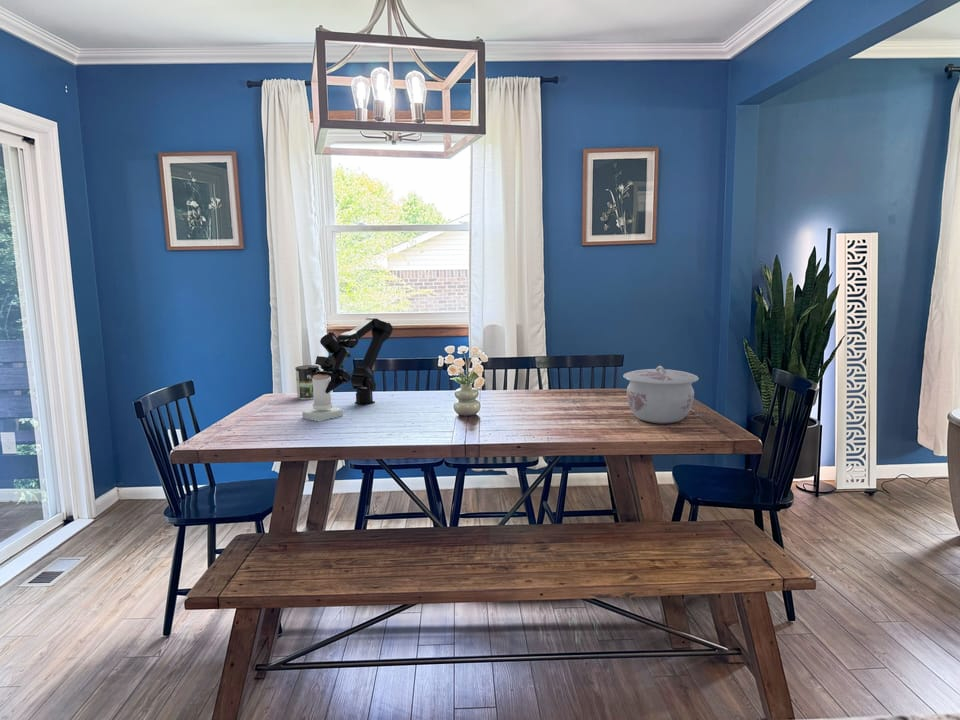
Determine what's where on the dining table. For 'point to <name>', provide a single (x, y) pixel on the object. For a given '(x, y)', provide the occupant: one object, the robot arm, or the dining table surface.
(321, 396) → the cream jar
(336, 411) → the sage block
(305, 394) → the coffee can
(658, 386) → the chamber pot
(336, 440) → the dining table surface
